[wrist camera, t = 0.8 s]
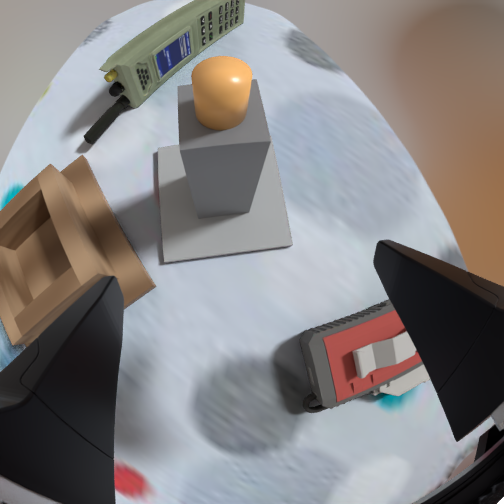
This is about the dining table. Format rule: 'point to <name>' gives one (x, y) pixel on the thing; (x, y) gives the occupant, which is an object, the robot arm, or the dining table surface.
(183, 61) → the handheld radio
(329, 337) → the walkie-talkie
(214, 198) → the connector plug
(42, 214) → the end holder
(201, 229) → the mat
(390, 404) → the dining table surface
